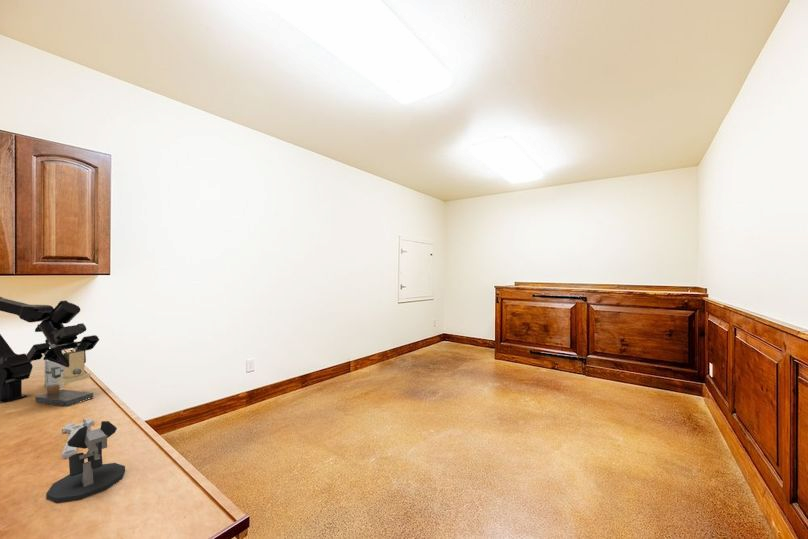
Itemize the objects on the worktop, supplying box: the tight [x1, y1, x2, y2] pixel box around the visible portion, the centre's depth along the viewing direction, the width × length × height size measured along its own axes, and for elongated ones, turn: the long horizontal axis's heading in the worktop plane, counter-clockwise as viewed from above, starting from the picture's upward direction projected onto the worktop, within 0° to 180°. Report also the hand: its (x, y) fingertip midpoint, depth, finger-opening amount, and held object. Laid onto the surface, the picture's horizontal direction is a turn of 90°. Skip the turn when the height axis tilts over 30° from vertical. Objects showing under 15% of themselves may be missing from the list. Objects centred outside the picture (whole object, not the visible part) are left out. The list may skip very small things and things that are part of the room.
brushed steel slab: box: [34, 384, 94, 407], centre depth 123 cm, size 16×8×5 cm, turn 74°
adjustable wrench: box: [61, 417, 94, 459], centre depth 93 cm, size 25×6×2 cm, turn 34°
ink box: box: [44, 360, 65, 389], centre depth 139 cm, size 9×5×12 cm, turn 52°
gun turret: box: [45, 420, 126, 504], centre depth 76 cm, size 13×20×13 cm, turn 50°
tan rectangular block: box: [57, 350, 91, 384], centre depth 122 cm, size 5×7×10 cm
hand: (76, 364), depth 121 cm, fingers closed on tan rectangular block, 4 cm apart
